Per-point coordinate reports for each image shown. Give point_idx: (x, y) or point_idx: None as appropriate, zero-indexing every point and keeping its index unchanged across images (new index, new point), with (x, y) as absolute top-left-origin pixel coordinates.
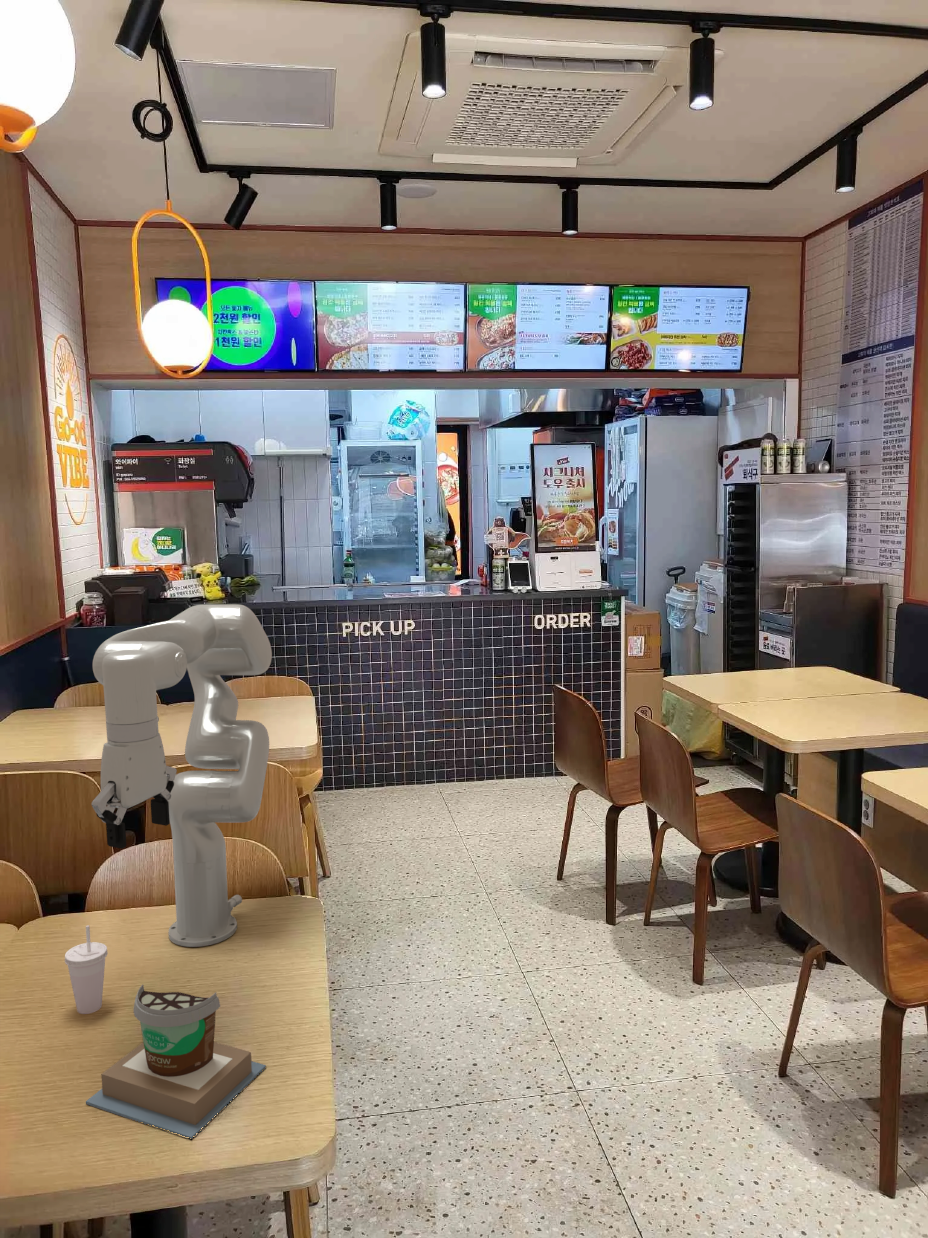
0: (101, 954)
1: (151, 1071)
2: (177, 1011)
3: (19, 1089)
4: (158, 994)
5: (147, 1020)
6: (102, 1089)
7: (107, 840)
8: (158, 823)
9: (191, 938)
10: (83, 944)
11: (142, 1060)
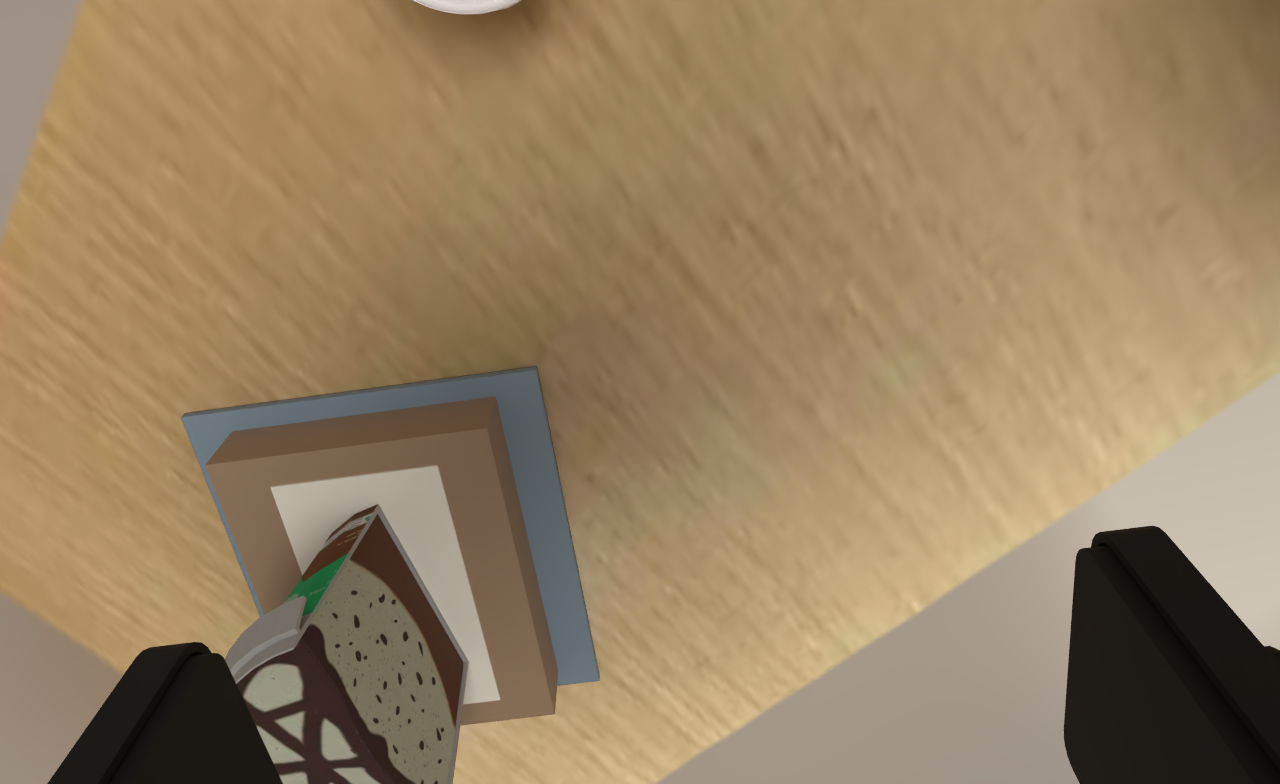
0: (488, 9)
1: None
2: None
3: (58, 169)
4: (322, 695)
5: None
6: (225, 440)
7: (115, 696)
8: (1074, 653)
9: None
10: None
11: (327, 517)
